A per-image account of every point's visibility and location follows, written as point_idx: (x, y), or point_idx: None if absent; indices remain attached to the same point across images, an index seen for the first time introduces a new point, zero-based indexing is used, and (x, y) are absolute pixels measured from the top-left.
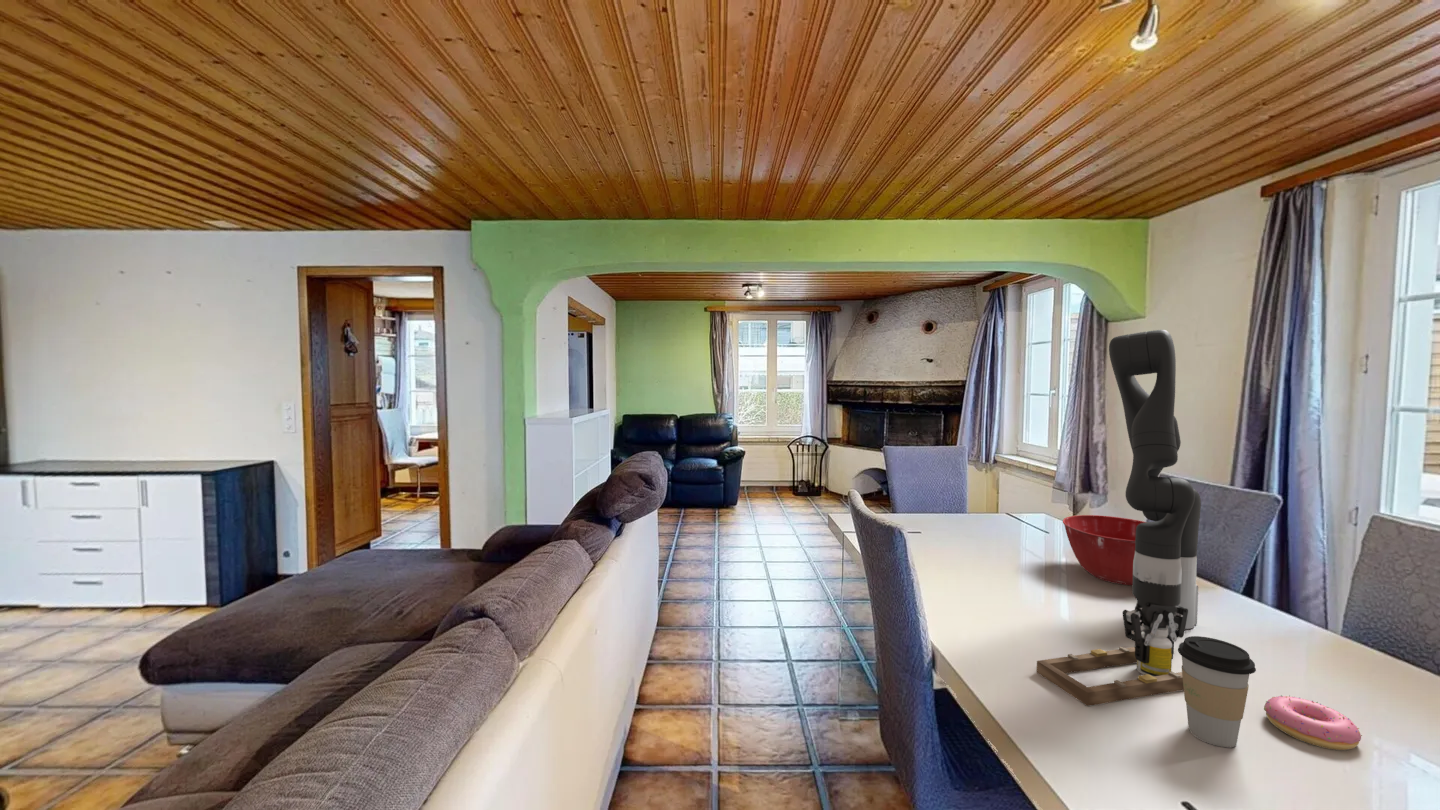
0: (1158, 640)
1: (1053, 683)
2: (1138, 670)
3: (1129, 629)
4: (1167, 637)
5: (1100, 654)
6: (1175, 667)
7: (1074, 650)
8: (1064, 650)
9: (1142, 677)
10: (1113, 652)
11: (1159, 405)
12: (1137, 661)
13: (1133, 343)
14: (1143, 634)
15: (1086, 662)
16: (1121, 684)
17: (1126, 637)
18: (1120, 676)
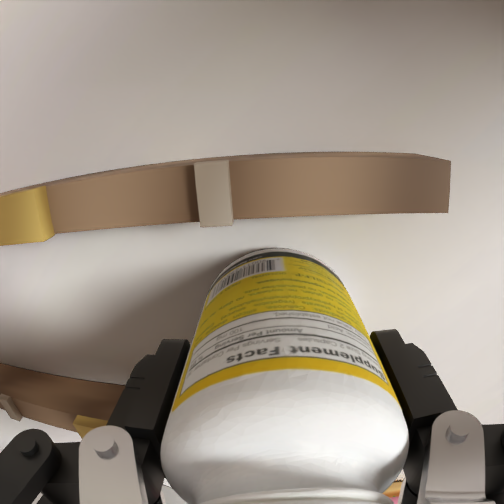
0: None
1: None
2: (208, 292)
3: (10, 499)
4: (409, 475)
5: (12, 243)
6: (446, 275)
7: (72, 33)
8: (33, 40)
9: (81, 432)
10: (113, 207)
11: None
12: (205, 304)
13: None
14: (201, 478)
15: None
16: (10, 415)
17: (23, 435)
18: (100, 293)
